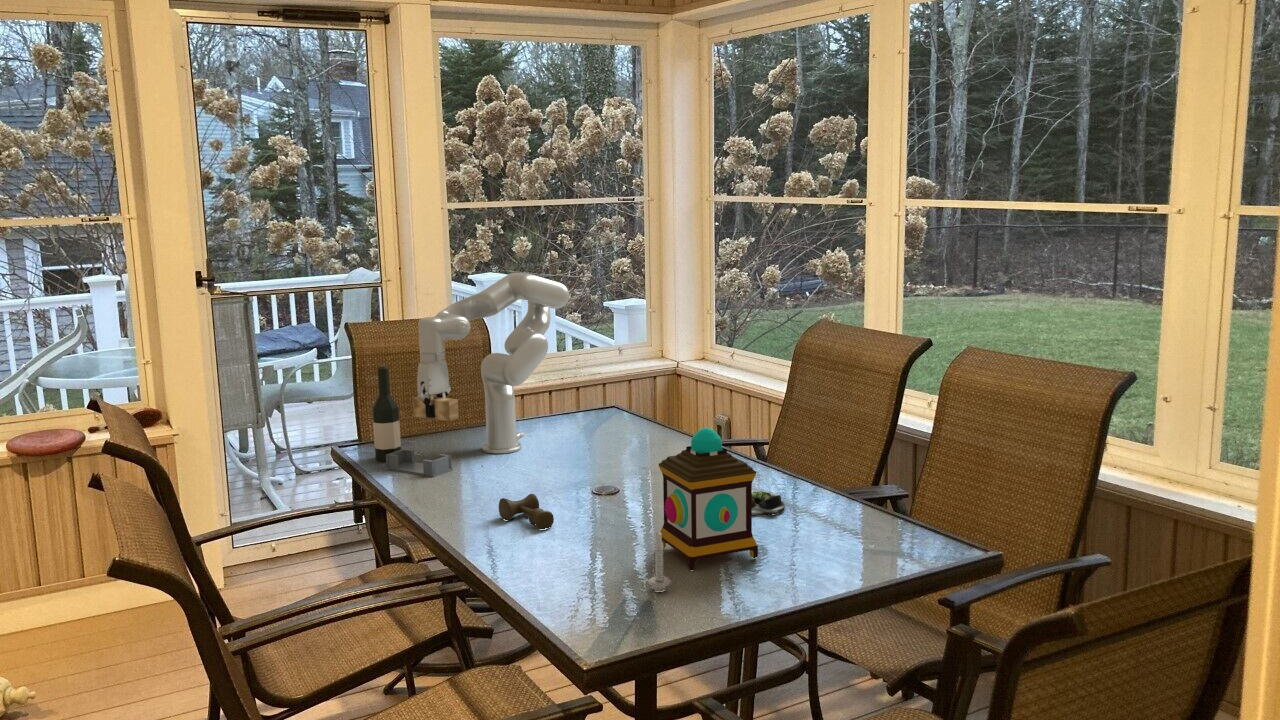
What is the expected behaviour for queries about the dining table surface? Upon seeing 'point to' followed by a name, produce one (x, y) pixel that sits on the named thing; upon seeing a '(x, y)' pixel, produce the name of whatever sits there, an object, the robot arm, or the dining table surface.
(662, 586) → the screw
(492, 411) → the robot arm
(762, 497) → the salad plate
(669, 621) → the dining table surface
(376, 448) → the wine bottle
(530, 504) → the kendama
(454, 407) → the slat
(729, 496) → the decorative lantern
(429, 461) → the end-cap rail
